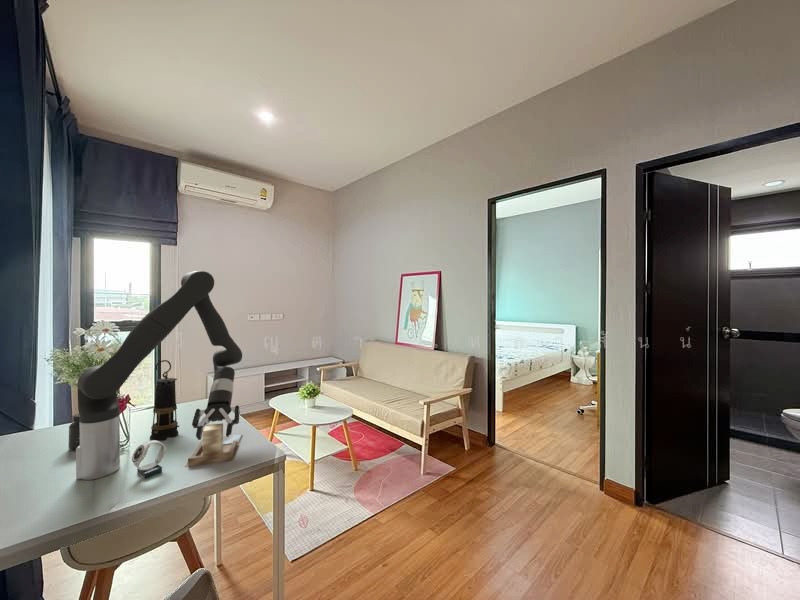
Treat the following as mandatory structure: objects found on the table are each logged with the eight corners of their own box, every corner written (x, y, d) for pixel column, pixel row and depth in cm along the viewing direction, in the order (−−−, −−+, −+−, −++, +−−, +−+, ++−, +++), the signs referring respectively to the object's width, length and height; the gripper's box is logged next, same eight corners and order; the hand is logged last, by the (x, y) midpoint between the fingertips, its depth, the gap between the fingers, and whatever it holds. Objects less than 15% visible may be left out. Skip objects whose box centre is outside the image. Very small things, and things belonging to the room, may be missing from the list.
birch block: (202, 460, 106) (202, 430, 106) (206, 453, 111) (206, 424, 110) (219, 458, 107) (219, 429, 107) (223, 451, 112) (223, 423, 112)
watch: (129, 481, 97) (129, 445, 96) (160, 469, 103) (160, 435, 103) (137, 487, 94) (137, 450, 93) (168, 474, 100) (168, 439, 100)
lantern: (181, 436, 127) (180, 360, 127) (152, 443, 120) (152, 364, 120) (175, 429, 133) (175, 357, 133) (147, 436, 127) (147, 360, 126)
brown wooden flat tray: (184, 471, 102) (184, 459, 102) (202, 443, 121) (202, 432, 121) (233, 465, 106) (233, 453, 106) (243, 438, 125) (243, 428, 125)
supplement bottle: (81, 451, 114) (81, 418, 114) (62, 451, 114) (62, 417, 114) (100, 442, 121) (100, 411, 121) (82, 442, 121) (82, 410, 121)
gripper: (197, 390, 115) (186, 435, 104) (241, 387, 119) (235, 430, 109) (201, 400, 120) (191, 444, 109) (243, 396, 124) (238, 439, 114)
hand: (213, 437), depth 109 cm, fingers open, 8 cm apart
